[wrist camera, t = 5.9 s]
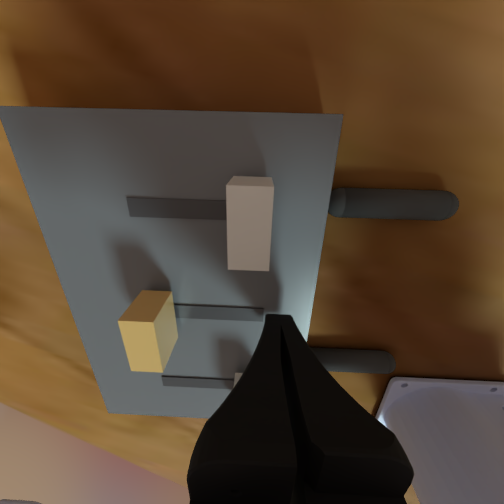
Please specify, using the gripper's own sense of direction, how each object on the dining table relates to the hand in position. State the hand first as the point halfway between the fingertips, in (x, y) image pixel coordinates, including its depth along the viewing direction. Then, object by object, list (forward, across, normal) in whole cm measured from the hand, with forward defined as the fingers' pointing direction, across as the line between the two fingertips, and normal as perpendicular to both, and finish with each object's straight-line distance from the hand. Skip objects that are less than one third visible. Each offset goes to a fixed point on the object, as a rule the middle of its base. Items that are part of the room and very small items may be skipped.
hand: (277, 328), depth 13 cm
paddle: (+1, +1, -6) cm, 6 cm away
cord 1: (+4, -6, -6) cm, 9 cm away
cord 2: (+4, -6, +6) cm, 9 cm away
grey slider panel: (+4, +5, 0) cm, 7 cm away
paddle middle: (+1, +6, 0) cm, 7 cm away
